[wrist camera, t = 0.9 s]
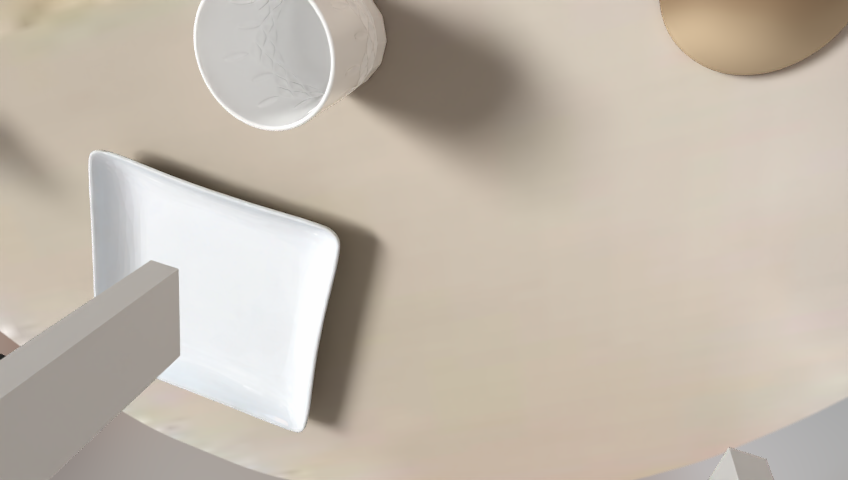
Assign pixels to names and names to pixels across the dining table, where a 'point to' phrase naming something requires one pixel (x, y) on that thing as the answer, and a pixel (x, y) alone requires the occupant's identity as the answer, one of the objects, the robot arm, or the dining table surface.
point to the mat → (752, 31)
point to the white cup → (286, 55)
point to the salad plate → (221, 283)
